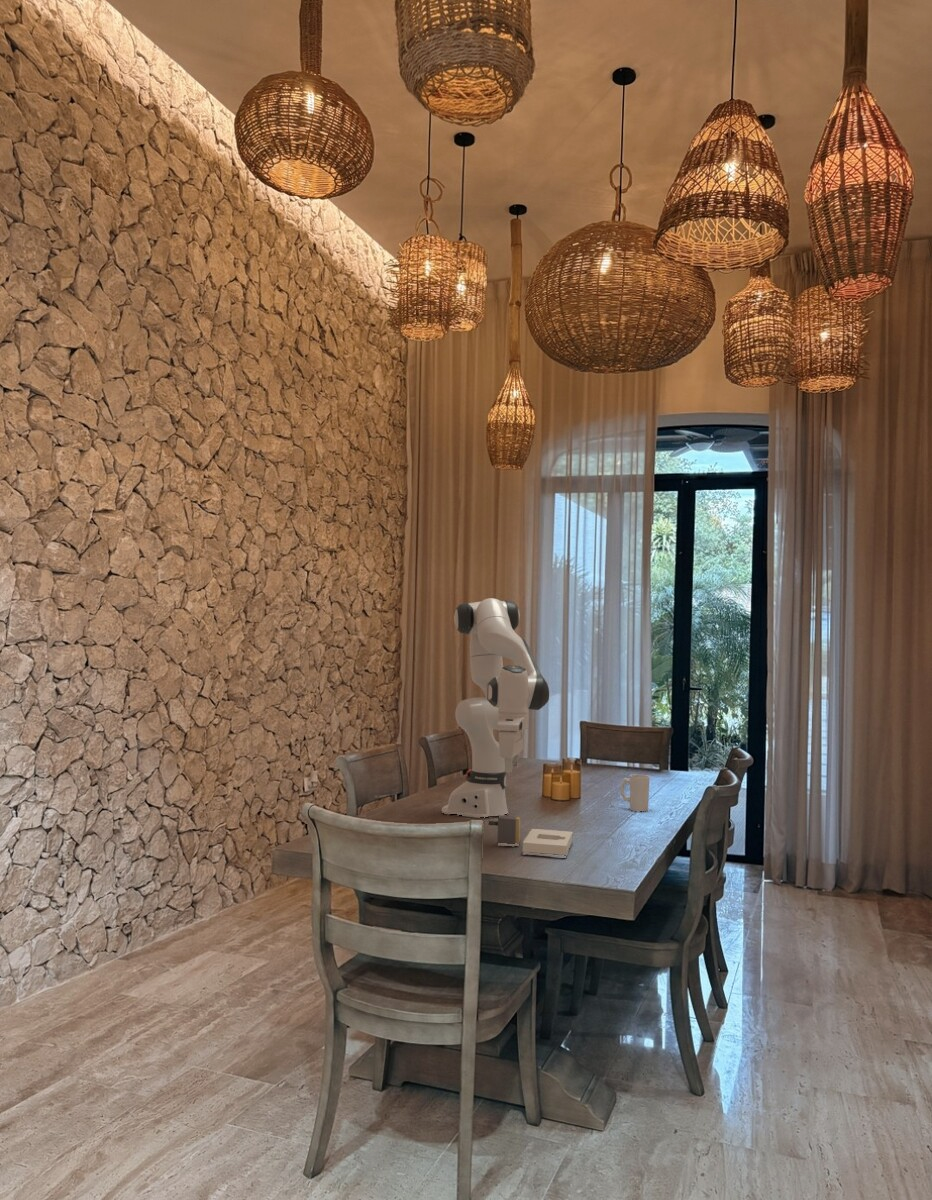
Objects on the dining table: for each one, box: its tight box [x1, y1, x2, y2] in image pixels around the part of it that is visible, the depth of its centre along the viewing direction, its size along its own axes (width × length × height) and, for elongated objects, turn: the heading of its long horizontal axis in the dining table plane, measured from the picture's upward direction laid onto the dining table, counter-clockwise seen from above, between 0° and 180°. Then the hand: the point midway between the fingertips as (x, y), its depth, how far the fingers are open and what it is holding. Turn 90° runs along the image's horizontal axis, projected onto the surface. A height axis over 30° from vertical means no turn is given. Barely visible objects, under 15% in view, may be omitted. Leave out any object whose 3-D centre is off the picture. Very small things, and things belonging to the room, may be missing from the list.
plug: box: [488, 815, 521, 844], centre depth 261 cm, size 9×4×8 cm, turn 78°
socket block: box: [522, 828, 574, 856], centre depth 257 cm, size 12×18×4 cm, turn 168°
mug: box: [620, 773, 650, 813], centre depth 318 cm, size 10×7×12 cm, turn 69°
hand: (511, 770), depth 261 cm, fingers open, 8 cm apart
